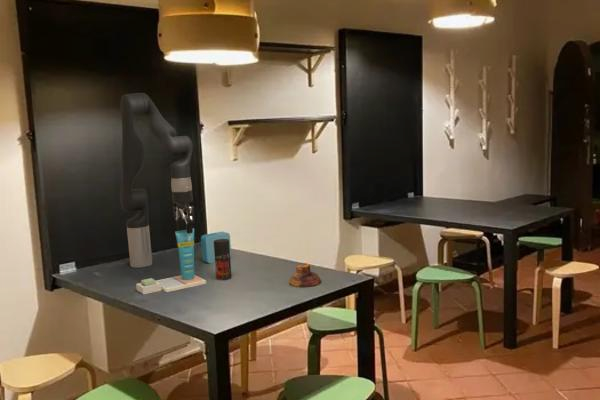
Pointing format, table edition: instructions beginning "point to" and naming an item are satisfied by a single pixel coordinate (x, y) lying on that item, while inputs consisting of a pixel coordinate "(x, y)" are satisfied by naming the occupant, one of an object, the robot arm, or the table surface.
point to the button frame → (148, 288)
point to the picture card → (179, 283)
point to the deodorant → (222, 259)
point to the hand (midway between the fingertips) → (185, 231)
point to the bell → (304, 277)
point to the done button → (148, 282)
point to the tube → (186, 253)
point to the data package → (212, 245)
